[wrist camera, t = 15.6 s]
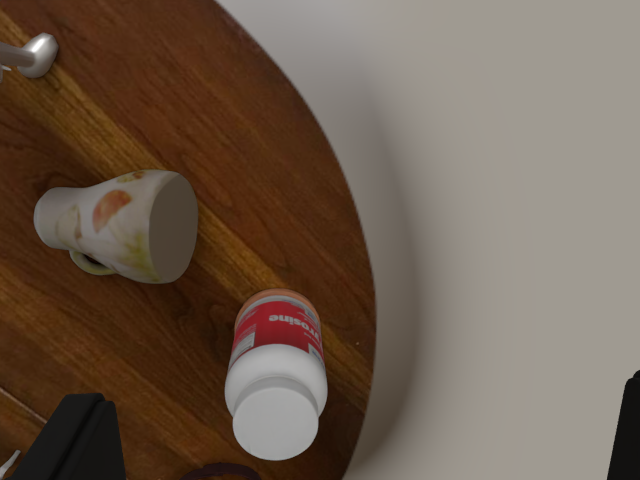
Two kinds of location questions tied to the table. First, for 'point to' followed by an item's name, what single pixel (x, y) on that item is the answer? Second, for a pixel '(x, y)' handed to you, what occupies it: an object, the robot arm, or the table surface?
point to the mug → (124, 225)
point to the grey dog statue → (8, 463)
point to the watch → (221, 471)
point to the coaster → (272, 293)
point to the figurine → (30, 56)
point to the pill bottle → (276, 378)
